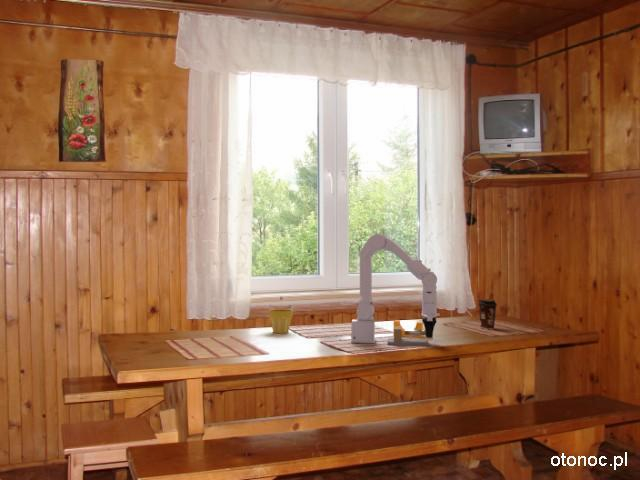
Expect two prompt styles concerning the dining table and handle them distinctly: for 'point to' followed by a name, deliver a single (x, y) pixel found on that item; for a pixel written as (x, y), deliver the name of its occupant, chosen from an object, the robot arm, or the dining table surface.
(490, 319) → the coffee cup
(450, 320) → the dining table surface
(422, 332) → the pin
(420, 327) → the pipe clamp
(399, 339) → the eye block
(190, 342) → the dining table surface
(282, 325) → the plant pot
